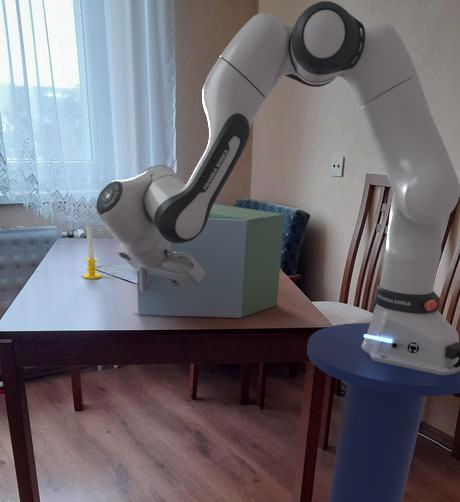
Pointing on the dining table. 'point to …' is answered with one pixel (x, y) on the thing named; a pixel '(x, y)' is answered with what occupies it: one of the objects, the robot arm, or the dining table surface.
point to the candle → (91, 257)
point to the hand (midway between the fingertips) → (179, 284)
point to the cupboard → (258, 255)
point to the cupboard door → (213, 283)
